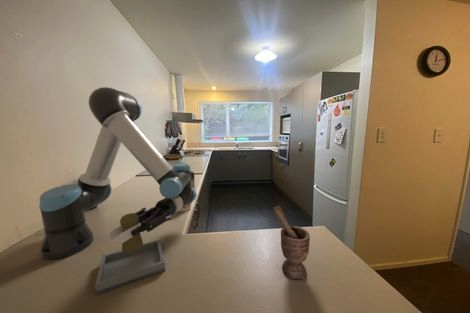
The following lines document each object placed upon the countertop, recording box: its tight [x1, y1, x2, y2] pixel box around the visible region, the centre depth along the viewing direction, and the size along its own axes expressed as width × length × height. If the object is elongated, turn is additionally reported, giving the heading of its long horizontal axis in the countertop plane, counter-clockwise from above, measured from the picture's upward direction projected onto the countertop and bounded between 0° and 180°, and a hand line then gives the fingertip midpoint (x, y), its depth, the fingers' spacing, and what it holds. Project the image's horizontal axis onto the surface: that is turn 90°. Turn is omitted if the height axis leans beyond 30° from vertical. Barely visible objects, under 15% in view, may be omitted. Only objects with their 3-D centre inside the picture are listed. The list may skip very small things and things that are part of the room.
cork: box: [119, 212, 144, 253], centre depth 59 cm, size 6×6×11 cm
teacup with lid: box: [178, 203, 192, 213], centre depth 106 cm, size 12×9×12 cm
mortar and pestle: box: [273, 205, 311, 280], centre depth 58 cm, size 12×9×20 cm
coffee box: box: [191, 171, 196, 189], centre depth 125 cm, size 9×6×16 cm
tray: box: [94, 239, 166, 296], centre depth 61 cm, size 18×14×3 cm
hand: (114, 237), depth 54 cm, fingers closed on cork, 4 cm apart
